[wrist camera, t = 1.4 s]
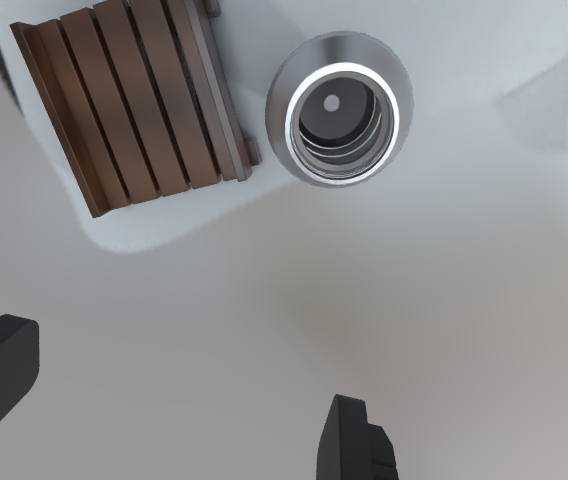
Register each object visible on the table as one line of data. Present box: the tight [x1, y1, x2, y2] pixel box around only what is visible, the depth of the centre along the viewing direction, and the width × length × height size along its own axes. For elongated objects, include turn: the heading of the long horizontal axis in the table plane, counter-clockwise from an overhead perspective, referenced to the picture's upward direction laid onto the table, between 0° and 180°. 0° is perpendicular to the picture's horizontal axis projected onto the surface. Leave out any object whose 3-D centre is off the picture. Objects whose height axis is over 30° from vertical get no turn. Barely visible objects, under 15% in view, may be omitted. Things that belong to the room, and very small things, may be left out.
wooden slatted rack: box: [10, 0, 262, 218], centre depth 31 cm, size 14×14×4 cm
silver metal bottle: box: [265, 31, 414, 188], centre depth 22 cm, size 6×7×20 cm
